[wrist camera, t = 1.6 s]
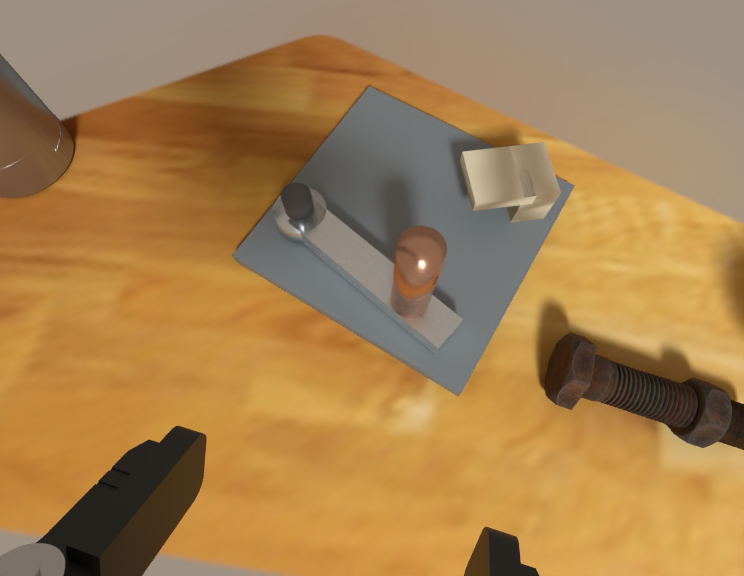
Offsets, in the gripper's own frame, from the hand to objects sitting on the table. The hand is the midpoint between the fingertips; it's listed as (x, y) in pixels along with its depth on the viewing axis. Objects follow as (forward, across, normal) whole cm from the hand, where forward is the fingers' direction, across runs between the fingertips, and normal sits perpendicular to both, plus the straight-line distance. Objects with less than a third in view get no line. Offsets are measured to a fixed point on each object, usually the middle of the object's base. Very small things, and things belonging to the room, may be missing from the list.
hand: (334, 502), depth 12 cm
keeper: (+35, -5, -2) cm, 35 cm away
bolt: (+26, -20, +9) cm, 34 cm away
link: (+27, +5, +5) cm, 28 cm away
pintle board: (+33, +2, +2) cm, 33 cm away
